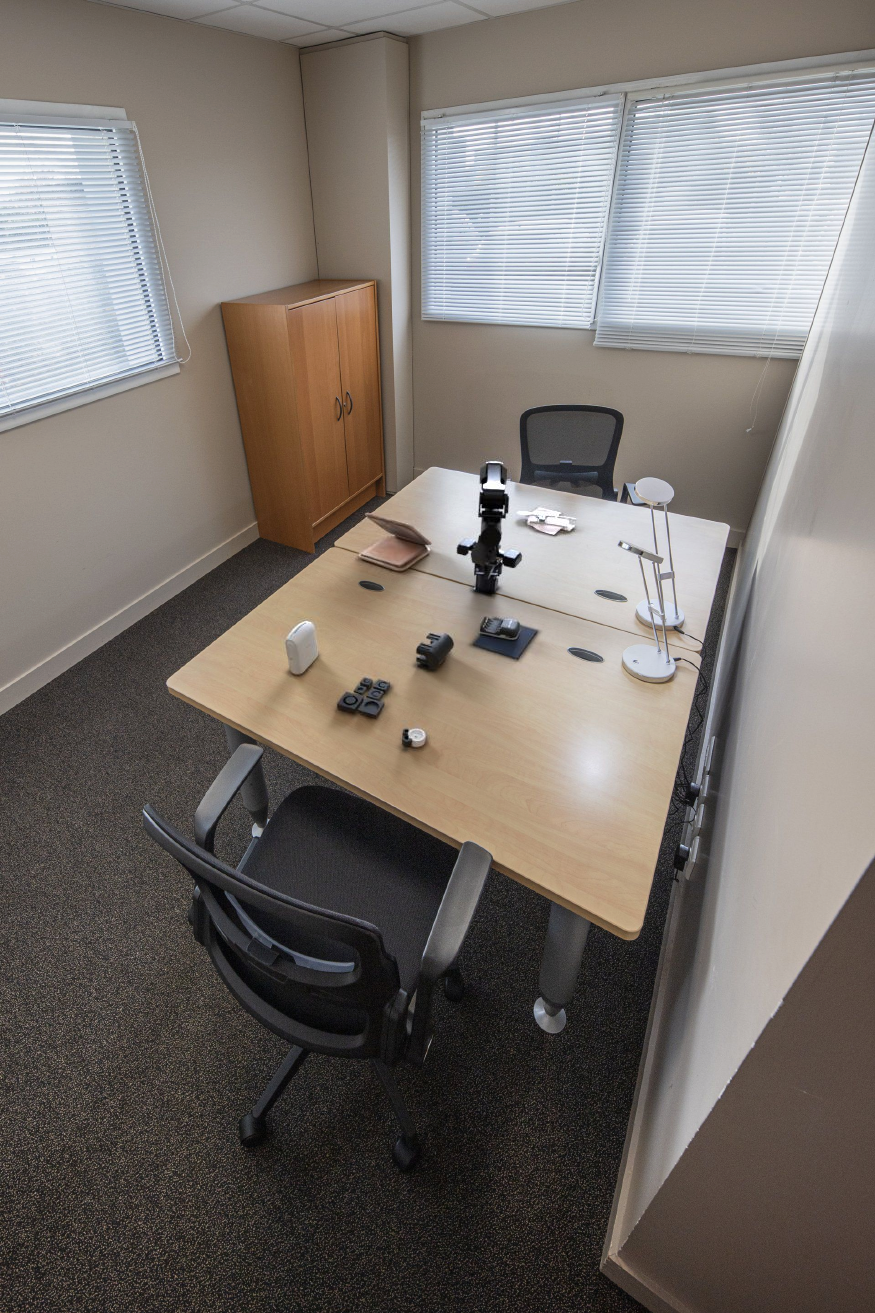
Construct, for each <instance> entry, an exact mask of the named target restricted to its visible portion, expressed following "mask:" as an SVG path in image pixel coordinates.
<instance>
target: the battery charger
mask: <svg viewBox="0 0 875 1313" xmlns="http://www.w3.org/2000/svg"><path fill="white" fill-rule="evenodd" d="M503 620H504V621H495V620H494V619H492V618H490V617H489V616H485V615H484V616H483V618H482V621H481V623H480V625H479V631H478V634H479V636H480V635H485V636H490V637H495V638H499V639H504V640H509V641H514V640H516V639H517V637H518V635H519V632H520V625H521V623H520V621H519V620H516V619H512V618H508V617H504V619H503Z"/></svg>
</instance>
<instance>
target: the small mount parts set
mask: <svg viewBox="0 0 875 1313" xmlns="http://www.w3.org/2000/svg"><path fill="white" fill-rule="evenodd" d="M372 685H373V686H372ZM390 687H391V681H387V680H383V679H380V678H378V679H377V680H376V681H375V683H374V679H373V678H369V677H365V676H363V677H362V679H361V680H360V681H359V684H358V685H356V687H355V688H354V689H353V693H352V692H349V691H345V693H344V694H343V695H342V696H341V697H340V699H339V700H338V701H337V703H336V709H338V710H341V711H344V712H348V713H350V714H354V715H355V714H356V713H358V714H361V715H364V716H368V717H371V718H375V719H376V718H377V717H378V716H379V714H380V713H381V712H382V710H383V708H384V707H385V702H383V701H380V699H381V698H382V697H383V695H384V694H386V693H387V692H388V690H389V689H390ZM367 690H369V691H368V692H367V694H366V695H365V697H364V694H365V693H366V691H367ZM364 698H365V699H364ZM401 733H402V734H401V736H402V737H401V745H402V746H403V747H405V748H410V747H414V748H419V747H420V748H421V747H422V746H424V744H425V743H426V732H425V731H424V730H423V729H421V728H412V729H409V728H403V729H402V732H401Z"/></svg>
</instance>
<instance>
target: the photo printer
mask: <svg viewBox="0 0 875 1313" xmlns="http://www.w3.org/2000/svg"><path fill="white" fill-rule="evenodd" d="M315 627H316V626H315V625H314V623H313V622H311V621H308V620H305V621H303V622H300V623H299V624H297V625H296V626H295V627H294V628H293V629H292V630H291V631H290V632H289V634H288V635H287V637H286V639H285V641H284V645H285V650H286V651H285V652H286V656H287V661H288V668H289V671H290V672H291V673H292V674H294V675H301V674H303V673H304V672H305V671H306V670H307V669H308V668H309V667H310V666H311V665H312V664H313V663H314V661H315V660H316V659H317V658H318V656H319V650H318V642H317V633H316V628H315Z"/></svg>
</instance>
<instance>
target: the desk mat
mask: <svg viewBox="0 0 875 1313" xmlns="http://www.w3.org/2000/svg"><path fill="white" fill-rule="evenodd" d="M493 620H495V621H504V619H500V618H497V617H494V618H493ZM537 633H538V629H535V628H531V627H527V626H524V625H521V624H520V632H519V635H518V637H517V639H516V640H514V641H509V640H504V639H499V638H495V637H490V636H485V635H480V634H479V636H477V638H476V639H475V641H473V643H472V646H474V647H477V648H480V649H484V650H487V651H490V652H493V653H496V654H500V655H502V656H505V657H510V658H512V659H514V660H518V659H519V657H520V656H521V655H522V653H523V652H524V650H525V649H527V646H528V645H529V644H530V642H531V641H532V639H533V638H534V636H535V635H536V634H537Z"/></svg>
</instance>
